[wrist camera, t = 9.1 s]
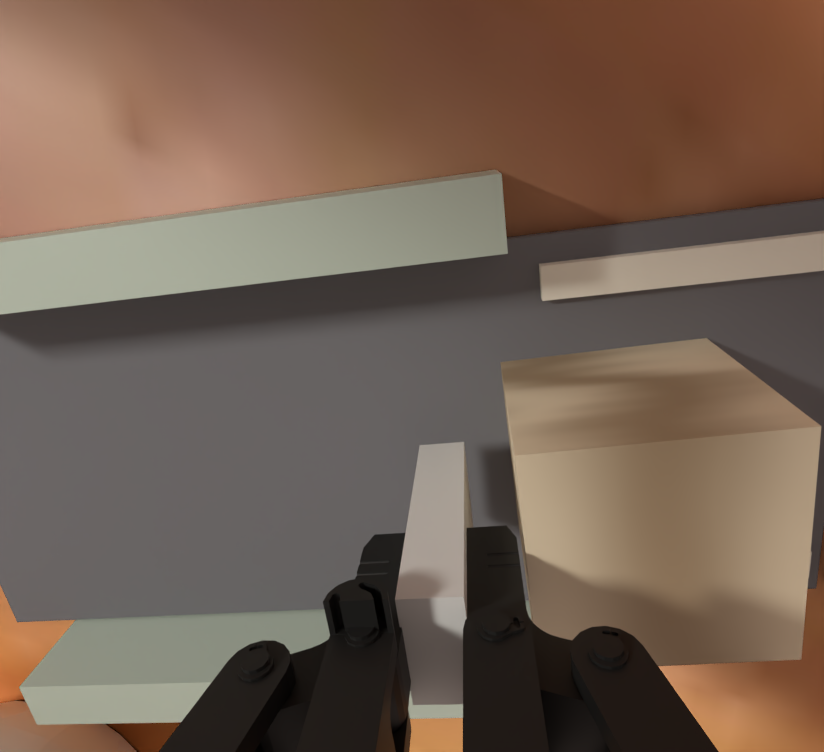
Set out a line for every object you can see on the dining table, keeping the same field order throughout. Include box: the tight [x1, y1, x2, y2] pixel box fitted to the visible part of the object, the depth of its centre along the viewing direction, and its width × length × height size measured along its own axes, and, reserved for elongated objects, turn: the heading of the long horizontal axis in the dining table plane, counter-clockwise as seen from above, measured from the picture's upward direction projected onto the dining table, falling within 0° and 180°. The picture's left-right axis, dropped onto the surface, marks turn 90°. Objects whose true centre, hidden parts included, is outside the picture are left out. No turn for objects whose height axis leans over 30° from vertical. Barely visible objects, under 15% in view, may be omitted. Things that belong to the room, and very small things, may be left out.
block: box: [500, 338, 821, 666], centre depth 16 cm, size 6×6×6 cm
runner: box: [0, 198, 824, 622], centre depth 20 cm, size 30×13×1 cm, turn 98°
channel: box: [0, 170, 532, 725], centre depth 19 cm, size 18×17×4 cm
